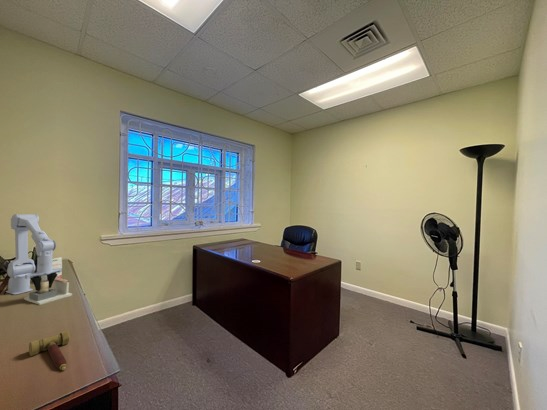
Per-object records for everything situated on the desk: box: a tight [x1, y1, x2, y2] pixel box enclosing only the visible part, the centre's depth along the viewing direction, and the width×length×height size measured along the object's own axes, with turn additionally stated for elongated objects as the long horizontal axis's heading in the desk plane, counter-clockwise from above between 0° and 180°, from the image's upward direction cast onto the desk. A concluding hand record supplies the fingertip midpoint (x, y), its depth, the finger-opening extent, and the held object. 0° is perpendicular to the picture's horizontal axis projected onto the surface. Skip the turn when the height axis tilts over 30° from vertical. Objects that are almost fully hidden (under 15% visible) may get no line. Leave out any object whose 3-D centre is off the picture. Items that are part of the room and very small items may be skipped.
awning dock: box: [23, 277, 73, 306], centre depth 126 cm, size 14×14×8 cm
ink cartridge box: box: [41, 256, 63, 281], centre depth 152 cm, size 9×5×15 cm, turn 168°
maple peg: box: [38, 280, 49, 294], centre depth 124 cm, size 4×4×7 cm
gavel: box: [28, 330, 70, 371], centre depth 79 cm, size 21×5×10 cm
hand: (43, 288), depth 124 cm, fingers open, 4 cm apart
